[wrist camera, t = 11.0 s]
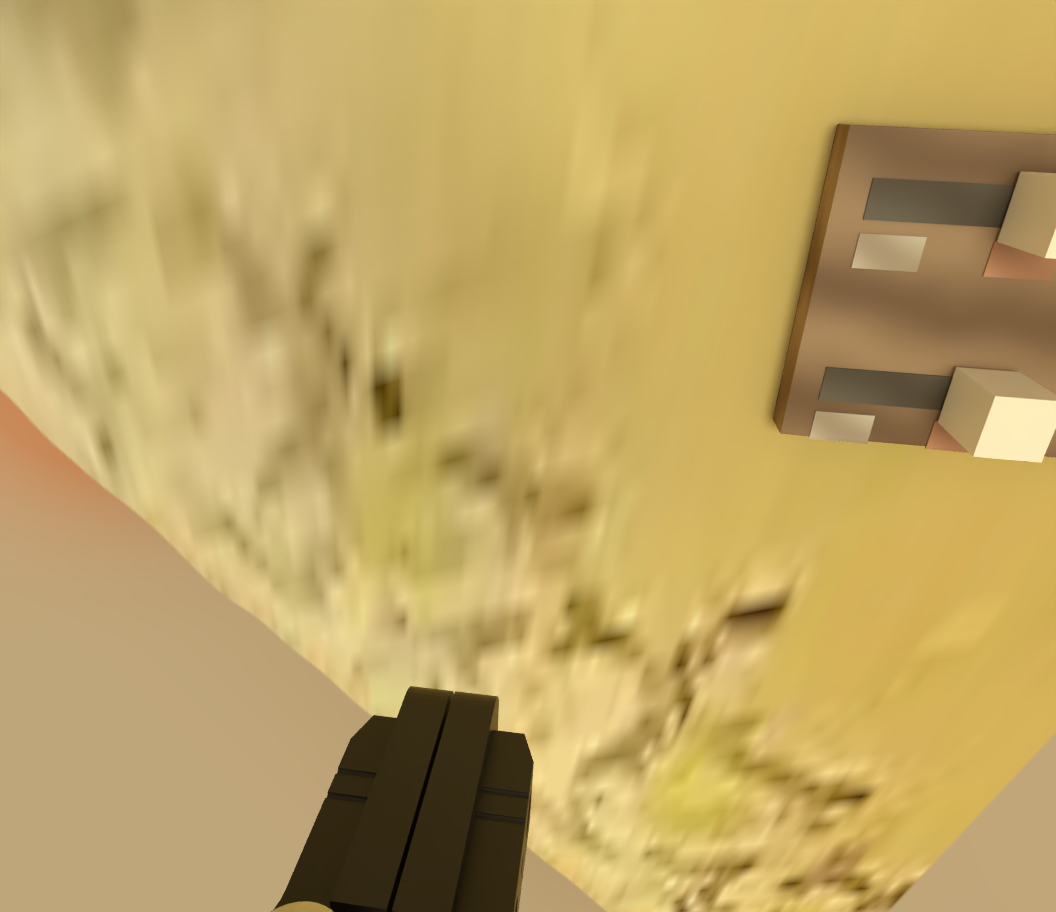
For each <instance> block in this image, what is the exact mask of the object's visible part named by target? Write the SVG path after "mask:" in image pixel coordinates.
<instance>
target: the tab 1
mask: <svg viewBox="0 0 1056 912" xmlns="http://www.w3.org/2000/svg"><path fill="white" fill-rule="evenodd" d="M938 423H939V424H940V425H941V426H942V427H943V428H944V429H945V430H946V431H947V432H948V433H949V434H950V435H951V436H952V437H953V438H954V439H955V440H956V441H957V442H959V443H960V444H961V445H962V446H963V447H964V448H965V449H966V450H967V451H968V452H969V453H970V454H971V455H972V456H973V457H984V458H996V459H1007V460H1019V461H1030V462H1042V460H1043V457H1044V455H1045V453H1046V450H1047V448H1048V446H1049V443H1050V441H1051V438H1052V436H1053V434H1054V431H1055V429H1056V395H1055V394H1054V393H1052V392H1051V391H1049V390H1048V389H1046V388H1044V387H1043V386H1041V385H1040V384H1038V383H1037V382H1035V381H1033V380H1032V379H1030V378H1029V377H1027V376H1026V375H1024V374H1023V373H1021V372H1015V371H1002V370H989V369H976V368H963V367H956V369H955V372H954V375H953V378H952V381H951V384H950V387H949V390H948V393H947V396H946V399H945V402H944V405H943V408H942V411H941V414H940V417H939V420H938Z"/></svg>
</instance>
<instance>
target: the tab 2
mask: <svg viewBox="0 0 1056 912" xmlns="http://www.w3.org/2000/svg"><path fill="white" fill-rule="evenodd" d="M997 242H998V243H1001V244H1004V245H1007V246H1010V247H1013V248H1016V249H1019V250H1022V251H1025V252H1028V253H1031V254H1034V255H1037V256H1040V257H1043V258H1051V259H1056V173H1043V172H1024V171H1021V172H1020V174H1019V177H1018V180H1017V183H1016V186H1015V189H1014V192H1013V195H1012V198H1011V201H1010V204H1009V207H1008V210H1007V213H1006V216H1005V219H1004V222H1003V225H1002V228H1001V231H1000V234H999V237H998V240H997Z"/></svg>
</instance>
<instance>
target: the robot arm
mask: <svg viewBox="0 0 1056 912" xmlns="http://www.w3.org/2000/svg"><path fill="white" fill-rule="evenodd" d="M498 708H499V699H498V697H497V696H489V695H481V694H472V693H464V692H455V693H454V692H453V691H446V690H438V689H430V688H421V687H413V686H411V687H409V689H408V690H407V692H406V695H405V698H404V700H403V703H402V706H401V708H400V711H399V714H398V717H397V718H392V717H384V716H376V715H373V716H372V717H371V718H370V720H369V721H368V722H367V723H366V724H365V725H364V726H363V727H362V728H361V729H360V730H359V731H358V732H357V733H356V734H355V735H354V736H353V737H352V738H351V739H350V742H349V744H348V747H347V749H346V751H345V753H344V756H343V758H342V760H341V763H340V765H339V767H338V772H337V774H335V777H334V779H333V781H332V783H331V786H330V788H329V790H328V796H327V798H325V800H324V802H323V804H322V807H321V810H320V812H319V814H318V816H317V818H316V821H315V823H314V825H313V828H312V830H311V832H310V835H309V837H308V839H307V842H306V844H305V846H304V849H303V851H302V853H301V855H300V858H299V860H298V863H297V865H296V867H295V870H294V872H293V874H292V876H291V879H290V881H289V883H288V886H287V888H286V890H285V892H284V894H283V896H282V898H281V900H280V901H279V903H278V904H277V906H276V907H275V909H274V910H273V911H271V912H518V910H519V902H520V894H521V885H522V878H523V870H524V862H525V854H526V846H527V839H528V831H529V822H530V807H531V792H532V778H533V763H534V762H533V759H532V756H531V753H530V750H529V747H528V744H527V741H526V737H525V734H521V733H513V732H505V731H498Z"/></svg>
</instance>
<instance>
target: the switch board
mask: <svg viewBox="0 0 1056 912" xmlns="http://www.w3.org/2000/svg"><path fill="white" fill-rule="evenodd" d="M1021 171H1024V172H1043V173H1056V135H1051V134H1031V133H1010V132H990V131H969V130H948V129H928V128H907V127H887V126H866V125H844V124H838V125H837V129H836V134H835V138H834V143H833V148H832V152H831V157H830V161H829V166H828V170H827V175H826V179H825V184H824V189H823V193H822V198H821V202H820V207H819V211H818V216H817V221H816V225H815V230H814V234H813V239H812V243H811V248H810V253H809V257H808V262H807V266H806V271H805V275H804V280H803V284H802V289H801V294H800V298H799V303H798V307H797V312H796V316H795V321H794V326H793V330H792V335H791V339H790V344H789V348H788V353H787V358H786V362H785V367H784V371H783V376H782V380H781V385H780V390H779V394H778V399H777V403H776V408H775V412H774V417H773V420H774V422H775V424H776V426H777V428H778V430H779V432H780V434H791V435H802V436H809V439H819V440H830V441H842V442H853V443H865V444H867V443H868V441H872V442H884V443H895V444H907V445H919V446H926V447H925V448H926V449H934V450H946V451H957V452H968V451H967V450H966V449H965V448H964V447H963V446H962V445H961V444H960V443H959V442H957V441H956V440H955V439H954V438H953V437H952V436H951V435H950V434H949V433H948V432H947V431H946V430H945V429H944V428H943V427H942V426H941V425H940V424H939V423H938V420H939V417H940V414H941V411H942V408H943V405H944V402H945V399H946V396H947V393H948V390H949V387H950V384H951V381H952V378H953V375H954V372H955V369H956V367H963V368H976V369H989V370H1002V371H1015V372H1021V373H1023V374H1024V375H1026V376H1027V377H1029V378H1030V379H1032V380H1033V381H1035V382H1037V383H1038V384H1040V385H1041V386H1043V387H1044V388H1046V389H1048V390H1049V391H1051V392H1052V393H1054V394H1055V395H1056V259H1051V258H1043V257H1040V256H1037V255H1034V254H1031V253H1028V252H1025V251H1022V250H1019V249H1016V248H1013V247H1010V246H1007V245H1004V244H1001V243H998V242H997V240H998V237H999V234H1000V231H1001V228H1002V225H1003V222H1004V219H1005V216H1006V213H1007V210H1008V207H1009V204H1010V201H1011V198H1012V195H1013V192H1014V189H1015V186H1016V183H1017V180H1018V177H1019V174H1020V172H1021ZM1044 456H1046V457H1056V429H1055V431H1054V434H1053V436H1052V438H1051V441H1050V443H1049V446H1048V448H1047V450H1046V453H1045V455H1044Z"/></svg>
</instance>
